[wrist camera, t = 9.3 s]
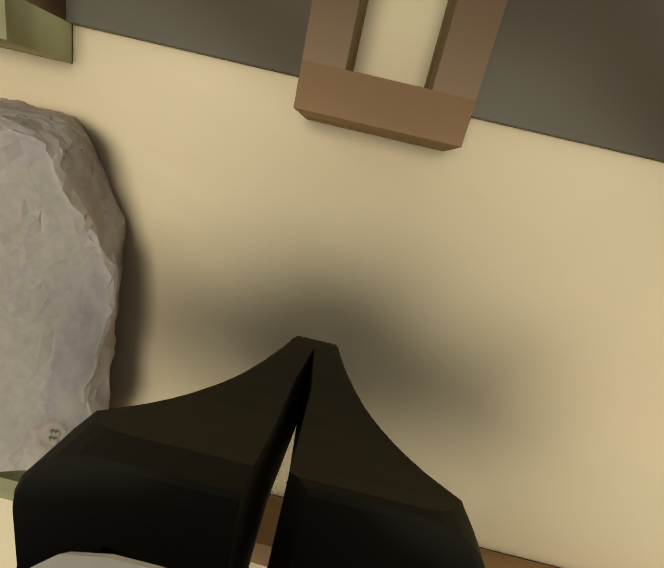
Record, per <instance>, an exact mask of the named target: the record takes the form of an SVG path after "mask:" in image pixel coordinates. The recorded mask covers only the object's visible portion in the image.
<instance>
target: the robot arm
mask: <svg viewBox="0 0 664 568" xmlns="http://www.w3.org/2000/svg"><path fill="white" fill-rule="evenodd" d="M296 425H297V426H296ZM295 427H296V432H295V439H294V446H293V452H292V459H291V465H290V472H289V476H288V481H287V485H286V489H285V494H284V498H283V502H282V506H281V511H280V515H279V519H278V524H277V528H276V532H275V536H274V541H273V545H272V549H271V554H270V558H269V562H268V567H267V568H485V566H484V562H483V559H482V556H481V552H480V549H479V546H478V542H477V540H476V537H475V534H474V531H473V528H472V526H471V523H470V521H469V519H468V516H467V514H466V511H465V509H464V506H463V503H462V501H461V500H460V499H458V498H457V497H456V496H454V495H453V494H452V493H451V492H449V491H448V490H447V489H445V488H444V487H443V486H441V485H440V484H439V483H437V482H436V481H435V480H434V479H432V478H431V477H430V476H428V475H427V474H426V473H425V472H423V471H422V470H421V469H420V468H419V467H418V466H417V465H416V464H415V463H413V462H412V461H411V460H410V459H409V458H408V457H407V456H406V455H405V454H404V453H403V452H402V451H401V450H400V449H399V448H398V447H397V446H396V445H395V444H394V443H393V442H392V441H391V440H390V439H389V438H388V437H387V435H386V434H385V433H384V432H383V431H382V430H381V429H380V427H379V426H378V425H377V424H376V422H375V421H374V420H373V418H372V417H371V416H370V414H369V413H368V412H367V410H366V409H365V407H364V406H363V404H362V402H361V401H360V399H359V397H358V395H357V394H356V392H355V390H354V388H353V386H352V384H351V382H350V379H349V377H348V375H347V373H346V370H345V368H344V365H343V363H342V360H341V357H340V353H339V349H338V347H337V346H336V345H334V344H330V343H326V342H322V341H317V340H313V339H309V338H305V337H301V336H297V337H295V338H293V339H292V340H291V341H290V342H289V343H287V344H286V345H285V346H284V347H282V348H281V349H280V350H278V351H277V352H276V353H274V354H273V355H271V356H270V357H268V358H267V359H266V360H264V361H263V362H261V363H259V364H258V365H256V366H254V367H253V368H251V369H249V370H248V371H246V372H244V373H242V374H240V375H238V376H236V377H234V378H232V379H229V380H227V381H225V382H222V383H220V384H217V385H214V386H211V387H208V388H205V389H202V390H200V391H197V392H194V393H190V394H187V395H183V396H179V397H175V398H172V399H167V400H162V401H158V402H153V403H148V404H142V405H135V406H128V407H121V408H114V409H108V410H98V411H96V412H94V413H93V414H92V415H90V416H89V417H88V418H87V419H85V420H84V421H83V422H82V423H80V424H79V425H78V426H76V427H75V428H74V429H73V430H72V431H71V432H70V433H69V434H67V435H66V436H65V437H64V438H63V439H62V440H61V441H60V442H59V443H57V444H56V445H55V446H54V447H53V448H52V449H51V450H50V451H48V452H47V453H46V454H45V455H44V456H43V457H42V458H41V459H40V460H38V461H37V462H36V463H35V464H34V465H33V466H32V467H31V468H30V469H28V470H27V471H26V472H25V473H24V474H23V475H22V476H21V478H20V480H19V482H18V484H17V486H16V488H15V490H14V499H13V521H14V533H15V545H16V558H17V568H249V564H250V561H251V557H252V554H253V550H254V547H255V543H256V539H257V536H258V532H259V529H260V525H261V522H262V518H263V515H264V511H265V508H266V504H267V501H268V498H269V496H270V493H271V490H272V487H273V484H274V482H275V479H276V477H277V474H278V471H279V469H280V466H281V464H282V461H283V458H284V456H285V453H286V451H287V448H288V446H289V443H290V440H291V438H292V435H293V433H294V430H295Z"/></svg>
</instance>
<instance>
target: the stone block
mask: <svg viewBox="0 0 664 568" xmlns="http://www.w3.org/2000/svg"><path fill="white" fill-rule="evenodd" d="M125 236H126V217H125V216H124V214H123V212H122V210H121V209H120V207H119V205H118V203H117V200H116V198H115V195H114V193H113V190H112V187H111V184H110V182H109V179H108V177H107V174H106V172H105V170H104V168H103V166H102V164H101V162H100V160H99V157H98V154H97V152H96V149H95V147H94V145H93V143H92V142H91V140H90V138H89V136H88V135H87V133H86V131H85V130H84V128H83V127H82V125H81V124H80V122H79V121H78V120H77V119H76V118H75V117H71V116H68V115H65V114H63V113H61V112H56V111H51V110H46V109H40V108H37V107H34V106H31V105H28V104H25V103H23V102H21V101H18V100H8V99H5V98H0V472H4V471H16V470H28V469H30V468H31V467H32V466H33V465H34V464H35V463H36V462H37V461H38V460H40V459H41V458H42V457H43V456H44V455H45V454H46V453H47V452H48V451H50V450H51V449H52V448H53V447H54V446H55V445H56V444H57V443H59V442H60V441H61V440H62V439H63V438H64V437H65V436H66V435H67V434H69V433H70V432H71V431H72V430H73V429H74V428H75V427H76V426H78V425H79V424H80V423H82V422H83V421H84V420H85V419H87V418H88V417H89V416H90V415H92V414H93V413H94V412H96V411H98V410H108V409H109V400H110V393H111V392H110V388H109V373H110V367H111V362H112V359H113V357H114V355H115V351H114V347H115V343H116V337H115V335H114V332H115V321H116V318H117V316H118V313H119V289H120V283H121V278H122V252H123V245H124V240H125Z"/></svg>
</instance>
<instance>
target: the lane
mask: <svg viewBox="0 0 664 568" xmlns="http://www.w3.org/2000/svg"><path fill="white" fill-rule="evenodd" d="M367 3H368V0H0V47H4V48H8V49H12V50H16V51H20V52H25V53H29V54H33V55H37V56H42V57H46V58H50V59H54V60H59V61H63V62H67V63H71V64H72V24H74V25H79V26H83V27H87V28H91V29H96V30H100V31H104V32H109V33H113V34H117V35H121V36H126V37H130V38H134V39H138V40H143V41H147V42H151V43H156V44H160V45H164V46H168V47H173V48H177V49H181V50H186V51H190V52H194V53H198V54H203V55H207V56H211V57H215V58H220V59H224V60H228V61H233V62H237V63H241V64H245V65H250V66H254V67H258V68H263V69H267V70H271V71H275V72H280V73H284V74H288V75H292V76H297V77H299V80H298V86H297V91H296V97H295V103H294V108H295V109H296V110H297V111H298V112H299V113H301V114H302V115H303V116H304V117H305V118H306V119H309V120H313V121H317V122H322V123H326V124H330V125H334V126H339V127H343V128H347V129H351V130H356V131H360V132H364V133H368V134H373V135H377V136H381V137H385V138H390V139H394V140H398V141H402V142H407V143H411V144H415V145H419V146H423V147H428V148H432V149H436V150H440V151H447V150H451V149H455V148H459V147H461V146H462V143H463V140H464V137H465V134H466V130H467V127H468V124H469V121H470V118H471V117H472V118H476V119H481V120H485V121H489V122H493V123H498V124H502V125H506V126H511V127H515V128H519V129H523V130H528V131H532V132H536V133H541V134H545V135H549V136H553V137H558V138H562V139H566V140H570V141H575V142H579V143H583V144H588V145H592V146H596V147H600V148H605V149H609V150H613V151H618V152H622V153H626V154H630V155H635V156H639V157H643V158H647V159H652V160H656V161H660V162H664V0H448V4H447V7H446V11H445V15H444V18H443V22H442V25H441V29H440V33H439V36H438V40H437V44H436V47H435V51H434V55H433V58H432V62H431V66H430V69H429V73H428V77H427V80H426V84H425V88H422V87H418V86H413V85H409V84H405V83H400V82H396V81H392V80H387V79H383V78H379V77H375V76H370V75H366V74H362V73H357V72H353V69H354V64H355V59H356V55H357V50H358V45H359V41H360V36H361V31H362V27H363V22H364V17H365V13H366V8H367ZM26 471H27V470H16V471H4V472H0V498H4V499H8V500H12V501H13V499H14V490H15V488H16V486H17V484H18V482H19V480H20V478H21V476H22V475H23V474H24V473H25V472H26ZM282 502H283V498H281V497H277V496H273V495H270V496H269V498H268V501H267V504H266V508H265V511H264V515H263V518H262V522H261V525H260V529H259V532H258V536H257V539H256V543H255V547H254V550H253V554H252V557H251V561H250V562H252V563H256V564H260V565H264V566H268V562H269V558H270V554H271V549H272V545H273V541H274V536H275V532H276V528H277V524H278V519H279V515H280V511H281V506H282ZM479 549H480V552H481V556H482V559H483V562H484V566H485V568H557V567H553V566H549V565H545V564H541V563H537V562H533V561H529V560H525V559H521V558H517V557H514V556H510V555H506V554H502V553H498V552H494V551H490V550H486V549H482V548H479Z"/></svg>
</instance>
